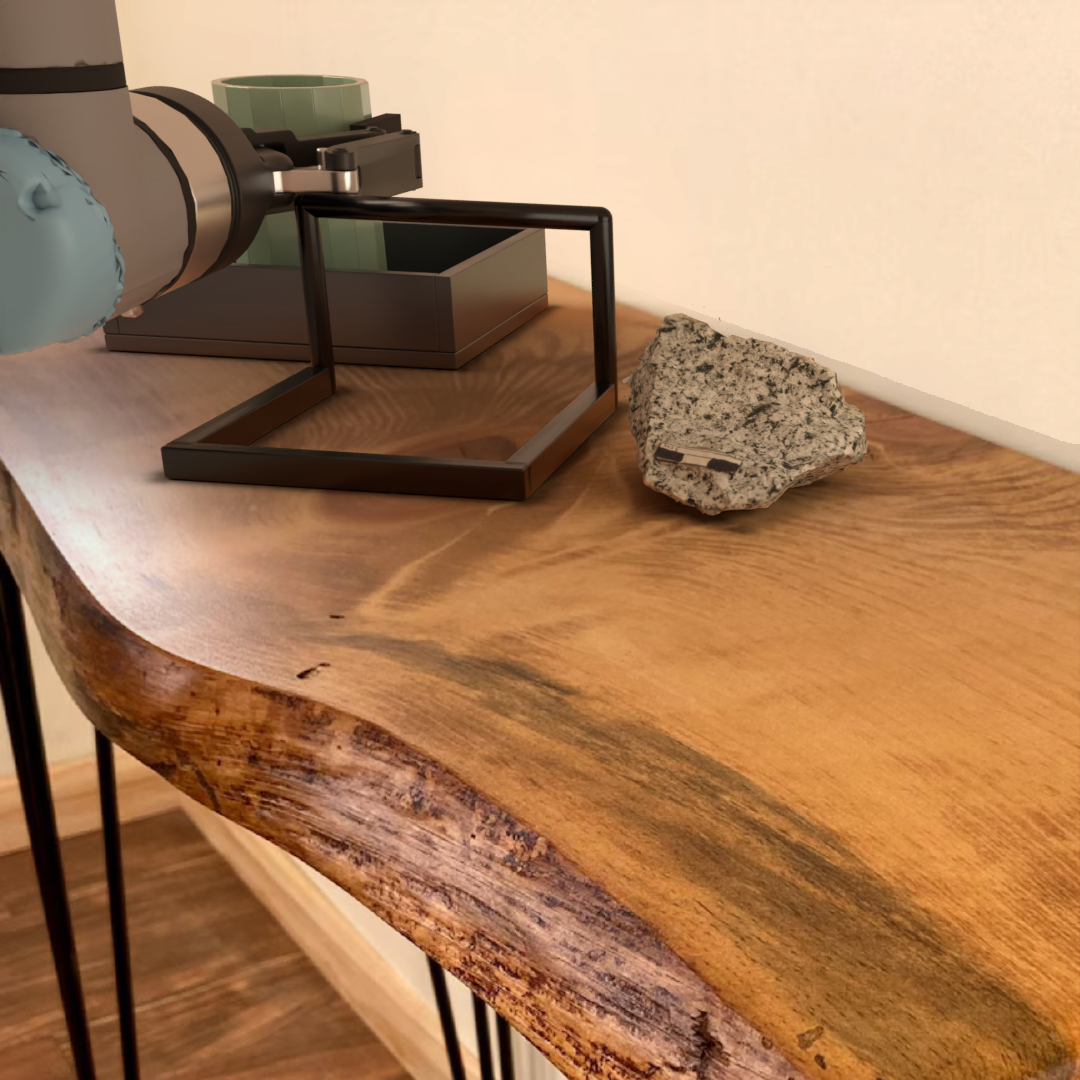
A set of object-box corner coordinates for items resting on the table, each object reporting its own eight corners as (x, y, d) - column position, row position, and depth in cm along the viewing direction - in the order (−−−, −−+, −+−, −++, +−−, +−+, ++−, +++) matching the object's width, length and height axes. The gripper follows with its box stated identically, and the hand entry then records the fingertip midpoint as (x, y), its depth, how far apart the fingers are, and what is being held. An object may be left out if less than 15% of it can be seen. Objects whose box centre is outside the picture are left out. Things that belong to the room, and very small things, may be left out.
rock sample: (567, 416, 61) (678, 224, 64) (552, 506, 69) (653, 330, 71) (832, 558, 63) (931, 363, 65) (790, 631, 70) (881, 454, 72)
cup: (222, 322, 90) (187, 85, 84) (270, 293, 96) (241, 72, 91) (367, 326, 89) (341, 89, 84) (406, 297, 96) (385, 76, 91)
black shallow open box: (105, 350, 87) (91, 258, 85) (246, 291, 101) (237, 212, 99) (457, 370, 85) (450, 276, 83) (548, 307, 100) (545, 227, 98)
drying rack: (163, 478, 67) (128, 243, 63) (319, 388, 81) (298, 190, 77) (525, 501, 66) (512, 263, 62) (620, 405, 80) (614, 205, 76)
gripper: (-88, 277, 73) (132, 204, 94) (401, 301, 73) (516, 223, 94) (-126, 79, 70) (111, 49, 90) (387, 104, 70) (509, 68, 90)
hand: (316, 137), depth 92 cm, fingers closed on cup, 7 cm apart
